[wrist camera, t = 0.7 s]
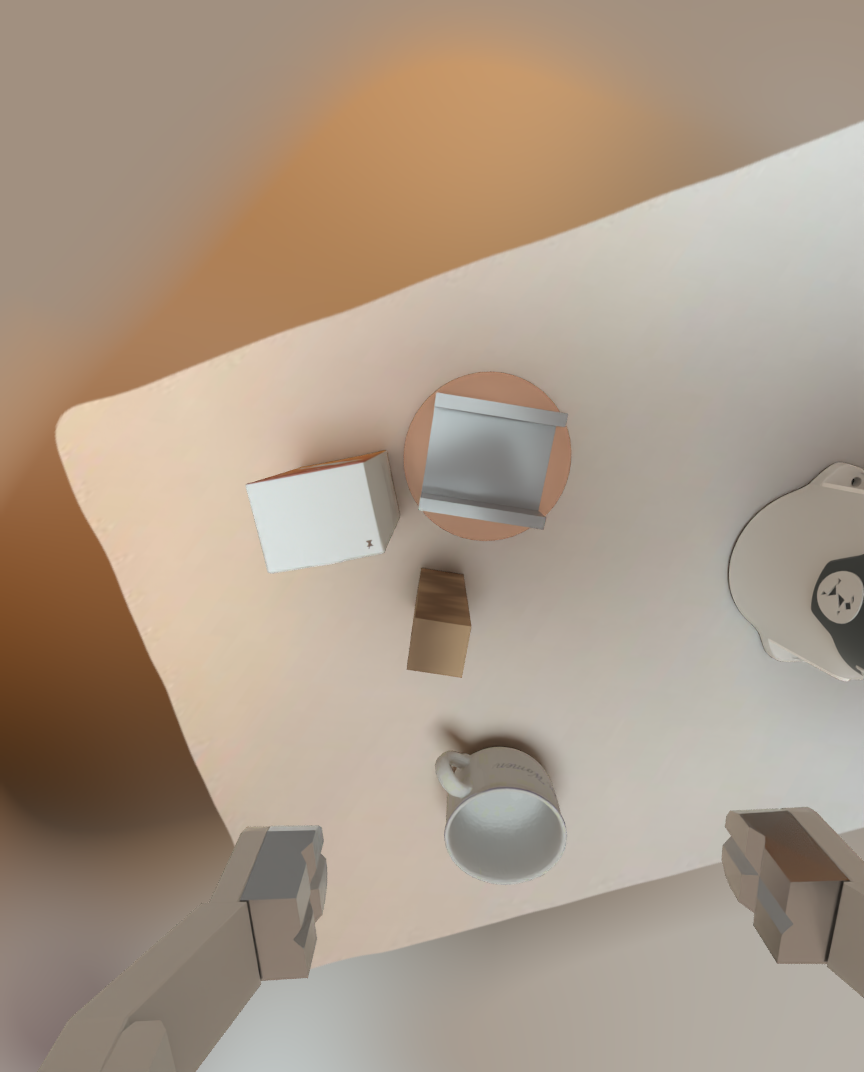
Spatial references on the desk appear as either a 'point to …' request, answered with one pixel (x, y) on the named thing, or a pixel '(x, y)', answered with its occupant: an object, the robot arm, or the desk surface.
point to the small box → (325, 512)
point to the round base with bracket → (487, 456)
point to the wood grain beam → (440, 624)
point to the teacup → (500, 815)
